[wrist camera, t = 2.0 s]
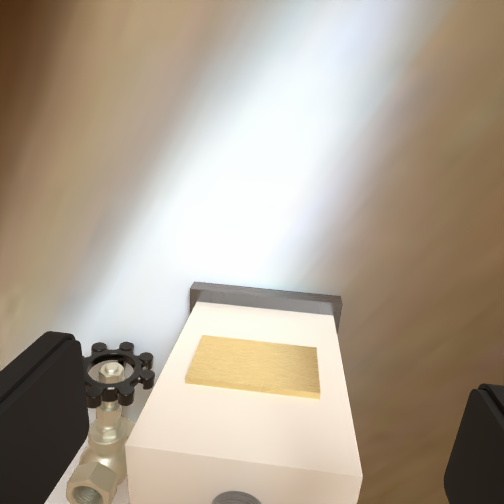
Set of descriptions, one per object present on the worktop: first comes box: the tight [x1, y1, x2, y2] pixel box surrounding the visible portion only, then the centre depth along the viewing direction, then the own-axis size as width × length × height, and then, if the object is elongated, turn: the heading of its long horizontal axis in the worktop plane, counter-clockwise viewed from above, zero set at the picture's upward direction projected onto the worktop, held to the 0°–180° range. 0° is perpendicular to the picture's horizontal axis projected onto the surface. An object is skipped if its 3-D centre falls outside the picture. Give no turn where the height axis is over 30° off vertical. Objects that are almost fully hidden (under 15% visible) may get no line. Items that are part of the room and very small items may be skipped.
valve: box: [66, 342, 155, 504], centre depth 31 cm, size 7×7×12 cm
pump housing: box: [125, 282, 363, 504], centre depth 22 cm, size 8×11×17 cm
